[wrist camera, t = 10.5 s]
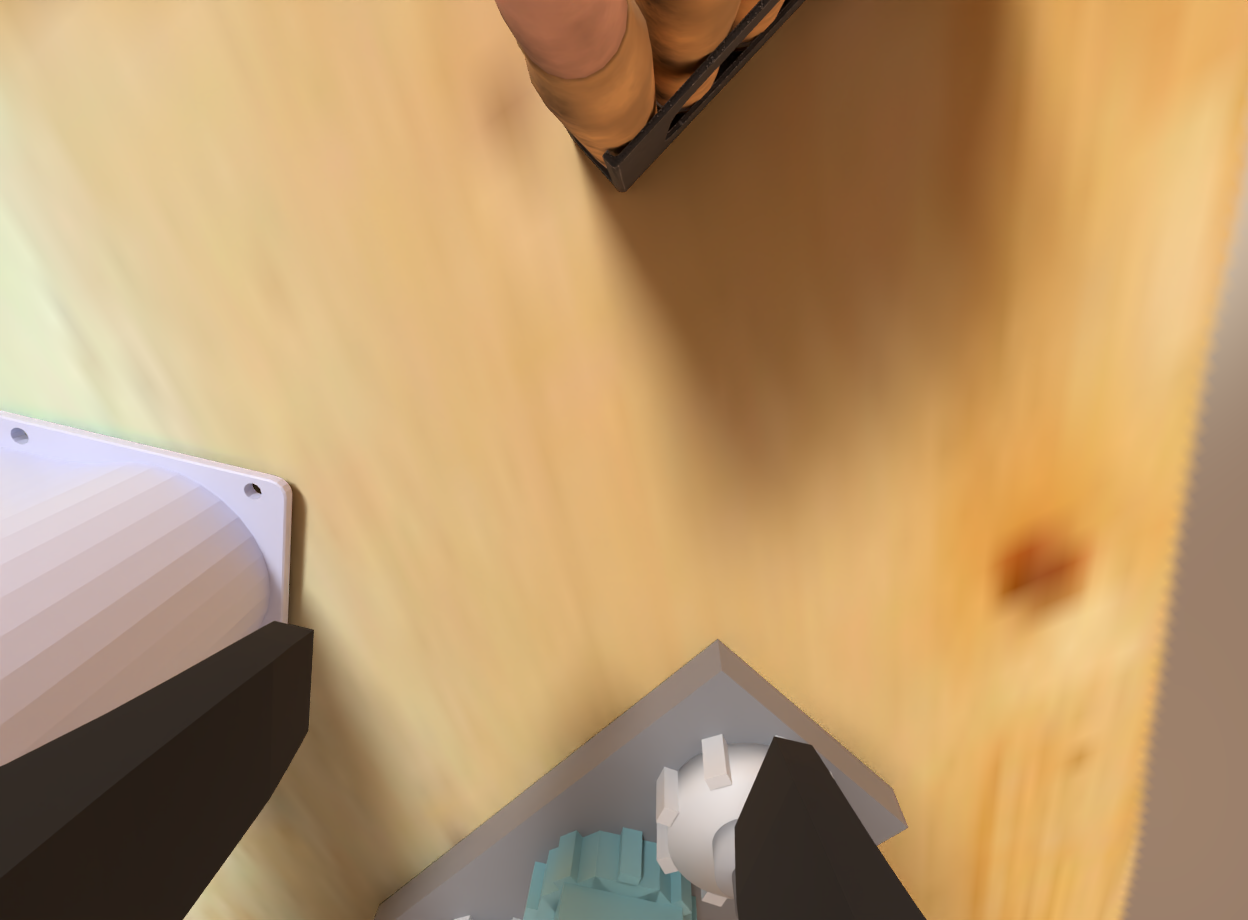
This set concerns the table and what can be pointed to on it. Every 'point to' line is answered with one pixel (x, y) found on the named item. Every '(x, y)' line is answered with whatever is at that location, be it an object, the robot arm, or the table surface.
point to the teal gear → (607, 881)
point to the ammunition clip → (636, 67)
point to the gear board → (648, 795)
